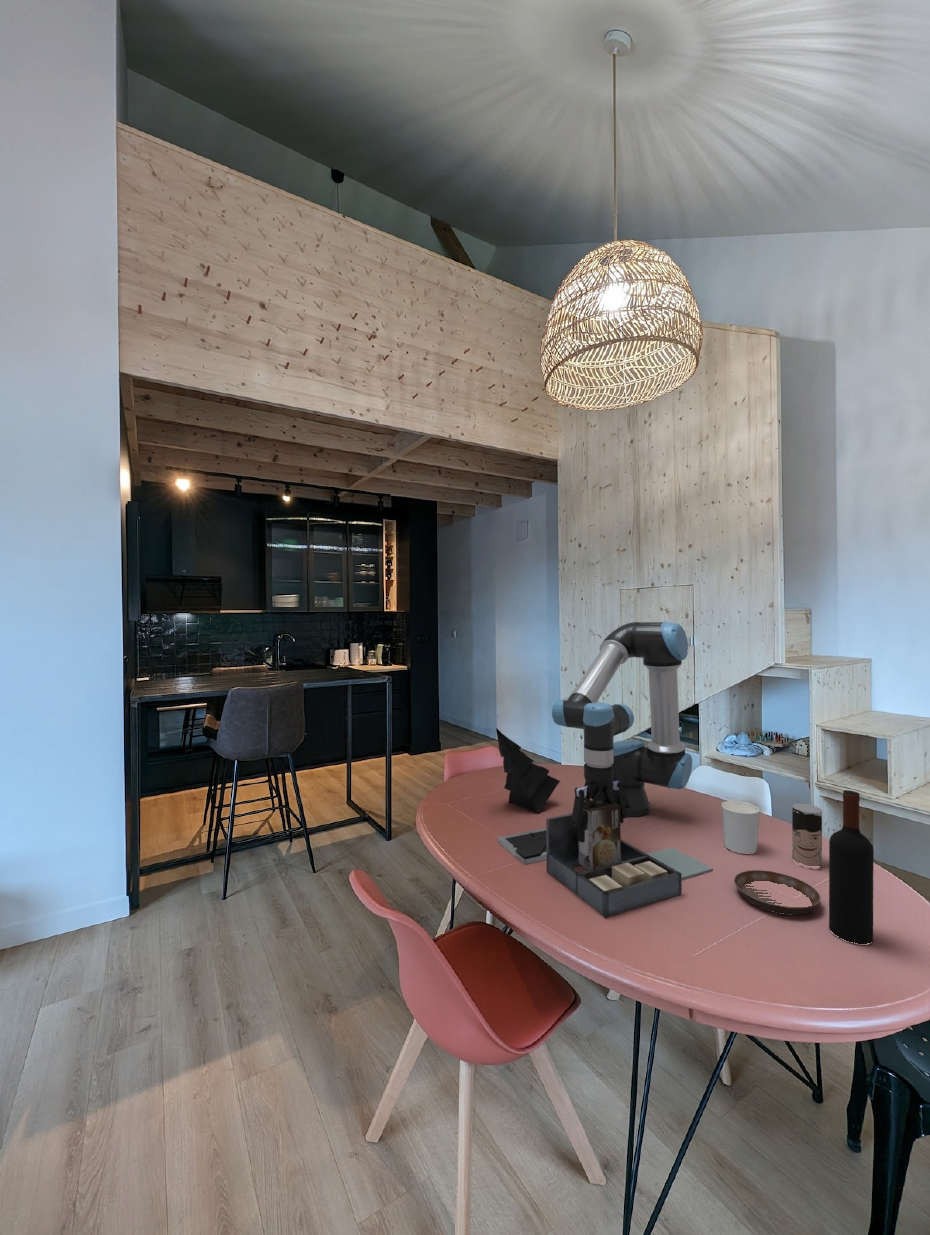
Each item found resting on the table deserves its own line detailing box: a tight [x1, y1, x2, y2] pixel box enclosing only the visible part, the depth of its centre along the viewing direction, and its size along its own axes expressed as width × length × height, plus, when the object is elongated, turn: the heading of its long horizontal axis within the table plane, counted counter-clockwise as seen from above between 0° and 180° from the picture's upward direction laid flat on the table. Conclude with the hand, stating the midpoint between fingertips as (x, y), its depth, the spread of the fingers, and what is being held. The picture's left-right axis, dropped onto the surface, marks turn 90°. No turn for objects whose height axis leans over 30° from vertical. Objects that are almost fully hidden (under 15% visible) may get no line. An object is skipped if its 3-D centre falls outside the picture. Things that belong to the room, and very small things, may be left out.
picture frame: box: [497, 827, 547, 866], centre depth 156 cm, size 16×3×21 cm
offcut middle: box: [612, 863, 645, 888], centre depth 129 cm, size 5×6×6 cm
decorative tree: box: [495, 727, 561, 815], centre depth 185 cm, size 15×15×35 cm
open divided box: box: [545, 812, 683, 919], centre depth 135 cm, size 23×24×14 cm
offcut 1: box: [589, 875, 622, 892], centre depth 126 cm, size 5×6×4 cm
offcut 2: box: [634, 861, 667, 881], centre depth 132 cm, size 5×6×5 cm
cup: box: [791, 803, 823, 866], centre depth 144 cm, size 7×7×15 cm
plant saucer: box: [733, 869, 821, 916], centre depth 127 cm, size 18×18×3 cm
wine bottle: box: [828, 789, 874, 944], centre depth 113 cm, size 8×8×30 cm
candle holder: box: [721, 800, 761, 854], centre depth 154 cm, size 10×10×12 cm
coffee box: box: [578, 800, 622, 870], centre depth 139 cm, size 9×6×16 cm
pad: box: [646, 846, 714, 881], centre depth 144 cm, size 14×14×1 cm
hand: (599, 849), depth 140 cm, fingers closed on coffee box, 9 cm apart
